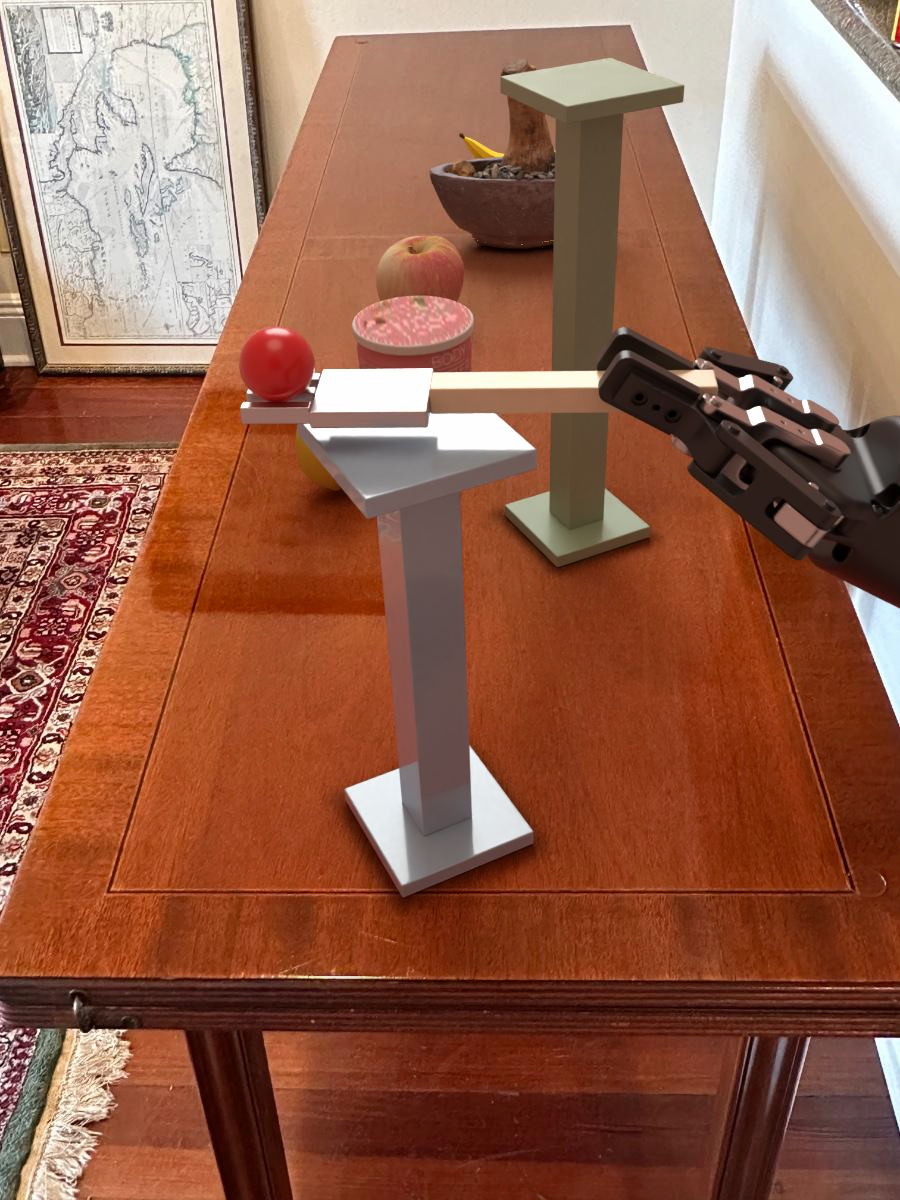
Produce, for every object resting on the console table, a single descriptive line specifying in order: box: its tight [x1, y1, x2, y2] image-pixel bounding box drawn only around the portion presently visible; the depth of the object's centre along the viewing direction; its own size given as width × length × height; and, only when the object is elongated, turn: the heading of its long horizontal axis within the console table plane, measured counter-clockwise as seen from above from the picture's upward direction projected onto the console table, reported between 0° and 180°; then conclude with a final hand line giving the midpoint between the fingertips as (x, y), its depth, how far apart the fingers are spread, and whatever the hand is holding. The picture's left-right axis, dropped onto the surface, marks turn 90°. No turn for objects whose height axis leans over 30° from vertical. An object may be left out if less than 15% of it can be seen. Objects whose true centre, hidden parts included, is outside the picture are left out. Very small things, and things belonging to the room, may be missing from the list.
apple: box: [375, 235, 465, 302], centre depth 119 cm, size 9×9×8 cm
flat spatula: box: [238, 325, 718, 428], centre depth 50 cm, size 20×4×4 cm, turn 86°
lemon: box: [294, 427, 342, 492], centre depth 94 cm, size 6×6×8 cm
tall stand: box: [499, 57, 685, 568], centre depth 81 cm, size 8×8×32 cm
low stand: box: [296, 412, 538, 898], centre depth 60 cm, size 8×8×25 cm
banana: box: [458, 132, 555, 159], centre depth 153 cm, size 3×19×6 cm, turn 95°
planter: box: [429, 58, 555, 250], centre depth 131 cm, size 15×17×20 cm
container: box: [351, 296, 475, 372], centre depth 105 cm, size 10×10×8 cm
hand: (608, 360), depth 50 cm, fingers closed on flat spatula
